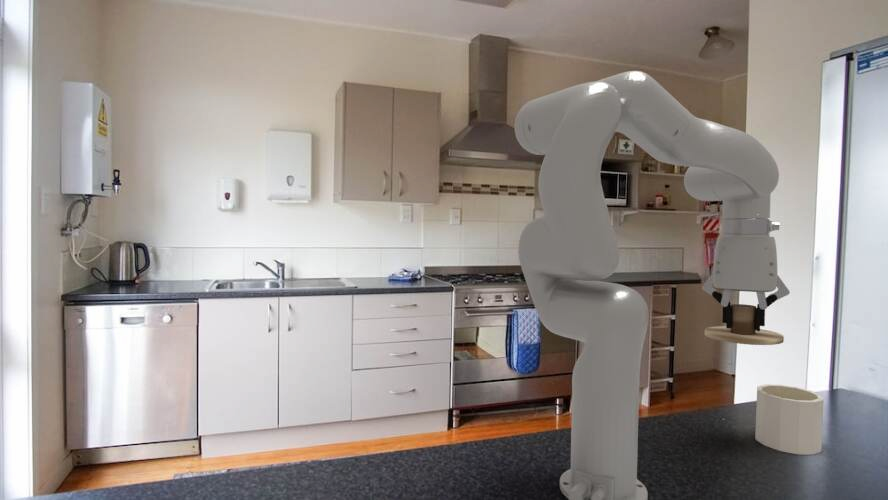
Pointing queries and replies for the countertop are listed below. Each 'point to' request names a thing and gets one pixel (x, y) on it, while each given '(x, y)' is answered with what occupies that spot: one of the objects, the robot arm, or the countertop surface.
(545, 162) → the robot arm
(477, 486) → the countertop surface
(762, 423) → the pot
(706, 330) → the lid
